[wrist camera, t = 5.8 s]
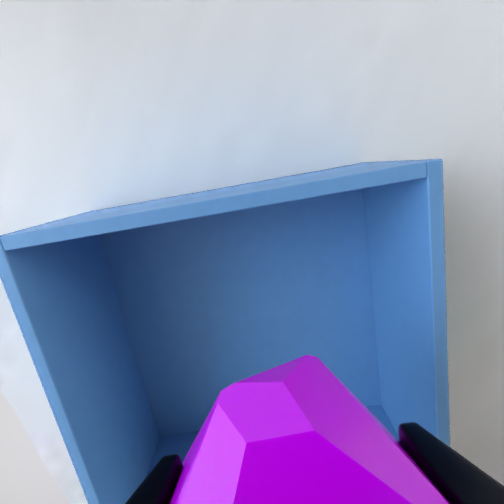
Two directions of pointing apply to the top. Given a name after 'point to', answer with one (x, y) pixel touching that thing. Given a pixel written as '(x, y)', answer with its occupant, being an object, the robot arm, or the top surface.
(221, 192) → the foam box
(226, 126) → the top surface
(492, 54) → the top surface
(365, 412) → the crystal
